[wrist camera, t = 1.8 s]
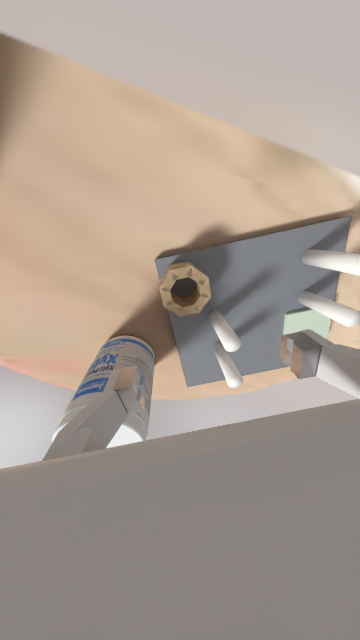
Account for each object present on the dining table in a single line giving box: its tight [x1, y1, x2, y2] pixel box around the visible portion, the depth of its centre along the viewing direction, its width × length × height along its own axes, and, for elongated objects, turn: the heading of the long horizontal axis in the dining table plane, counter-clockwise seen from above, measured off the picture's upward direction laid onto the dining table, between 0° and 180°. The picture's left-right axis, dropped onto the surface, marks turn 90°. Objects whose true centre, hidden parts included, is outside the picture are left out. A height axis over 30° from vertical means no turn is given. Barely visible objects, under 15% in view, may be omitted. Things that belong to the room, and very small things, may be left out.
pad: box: [283, 308, 331, 339], centre depth 29 cm, size 8×8×1 cm
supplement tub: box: [52, 336, 155, 448], centre depth 24 cm, size 10×10×15 cm
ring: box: [159, 261, 211, 317], centre depth 23 cm, size 6×6×4 cm
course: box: [155, 216, 360, 387], centre depth 25 cm, size 24×26×9 cm
